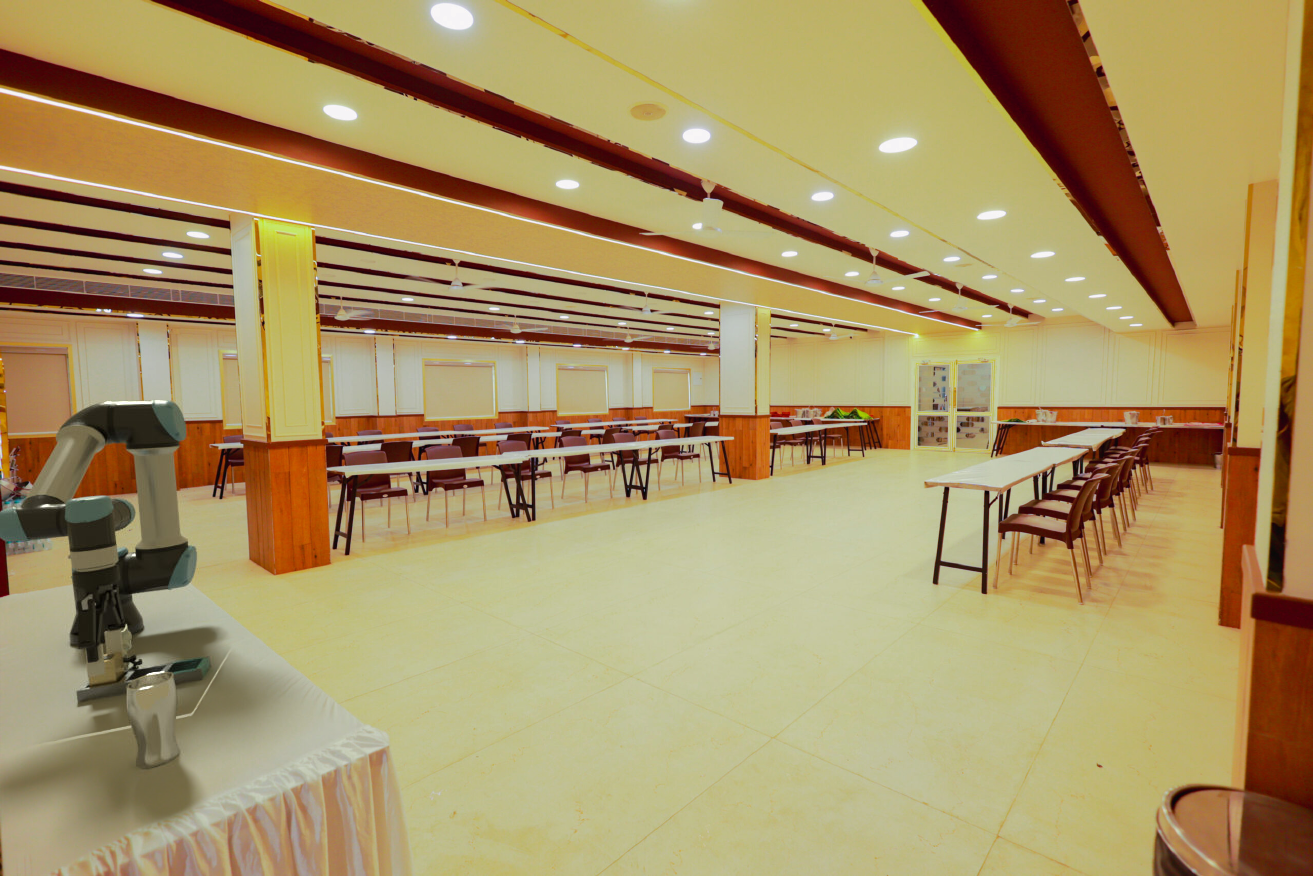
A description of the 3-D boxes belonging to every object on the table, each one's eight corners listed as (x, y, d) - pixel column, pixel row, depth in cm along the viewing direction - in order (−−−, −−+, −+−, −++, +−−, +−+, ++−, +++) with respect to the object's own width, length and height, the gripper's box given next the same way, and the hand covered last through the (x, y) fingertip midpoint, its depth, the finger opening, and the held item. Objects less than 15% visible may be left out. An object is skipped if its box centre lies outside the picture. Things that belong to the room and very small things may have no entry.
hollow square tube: (99, 687, 135) (96, 655, 134) (125, 683, 137) (122, 651, 136) (90, 697, 131) (86, 663, 130) (117, 692, 133) (114, 659, 132)
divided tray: (93, 688, 136) (91, 675, 135) (210, 668, 145) (209, 655, 144) (77, 704, 129) (76, 690, 129) (202, 681, 138) (200, 669, 138)
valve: (103, 646, 145) (107, 683, 138) (98, 627, 142) (102, 664, 135) (139, 636, 150) (144, 672, 143) (134, 618, 147) (140, 653, 139)
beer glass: (152, 748, 113) (144, 672, 111) (191, 745, 113) (184, 670, 112) (122, 772, 106) (114, 691, 104) (164, 769, 106) (156, 688, 105)
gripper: (95, 558, 139) (106, 652, 141) (47, 582, 120) (59, 691, 121) (136, 553, 142) (146, 645, 144) (95, 576, 123) (107, 682, 124)
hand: (106, 666), depth 132 cm, fingers open, 9 cm apart
